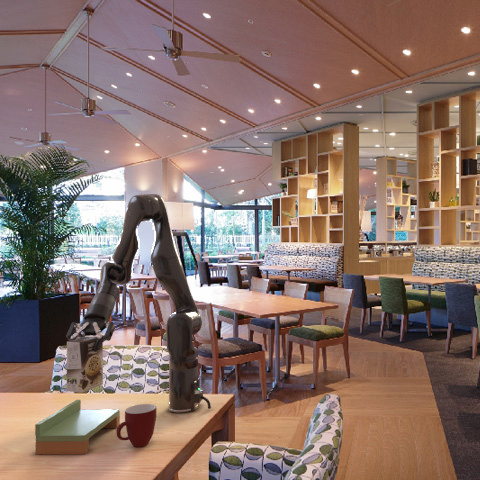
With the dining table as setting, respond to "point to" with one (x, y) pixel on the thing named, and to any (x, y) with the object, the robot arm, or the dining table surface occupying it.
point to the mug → (138, 424)
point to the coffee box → (84, 365)
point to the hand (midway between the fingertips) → (82, 350)
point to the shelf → (72, 429)
